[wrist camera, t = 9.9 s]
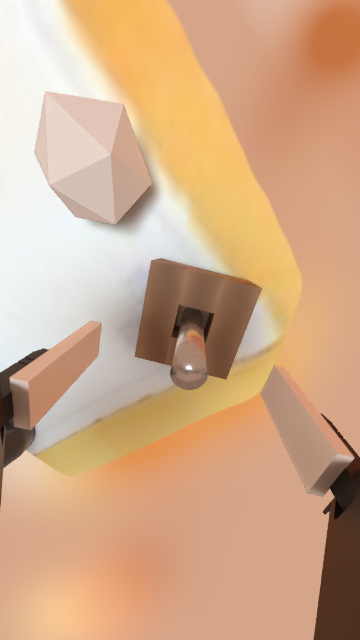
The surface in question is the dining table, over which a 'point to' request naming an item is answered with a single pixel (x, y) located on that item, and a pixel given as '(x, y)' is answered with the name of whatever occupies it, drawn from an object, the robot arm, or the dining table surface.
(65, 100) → the die
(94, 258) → the dining table surface
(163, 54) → the dining table surface
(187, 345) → the pin
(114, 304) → the dining table surface
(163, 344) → the socket block
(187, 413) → the dining table surface
